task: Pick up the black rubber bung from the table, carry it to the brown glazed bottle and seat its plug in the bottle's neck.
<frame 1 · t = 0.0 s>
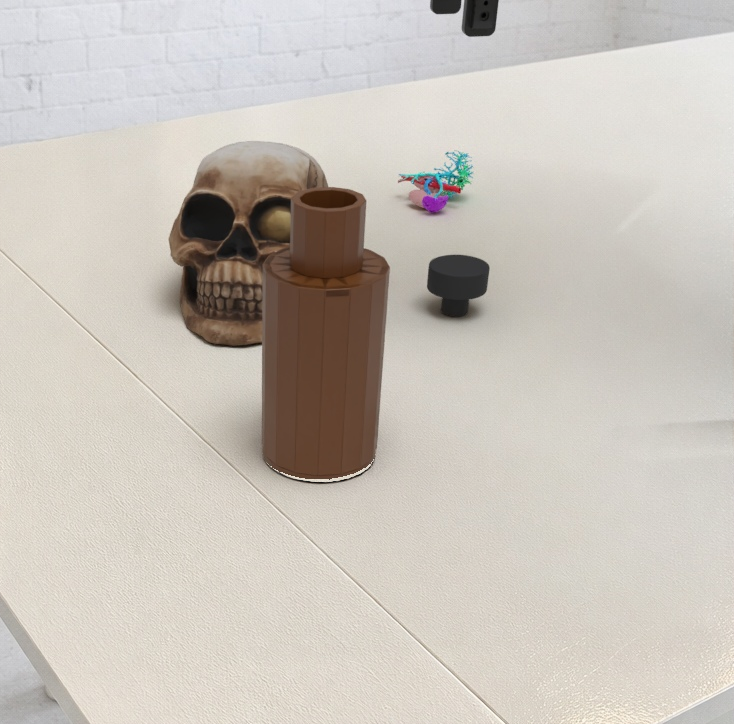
hand: (460, 23, 82), 22 cm above the table, tool pointing down, fingers open, 8 cm apart
bottle: (318, 453, 74), on the table
brown skull: (253, 300, 96), on the table
bung: (454, 311, 93), on the table
anatomy model: (429, 203, 115), on the table
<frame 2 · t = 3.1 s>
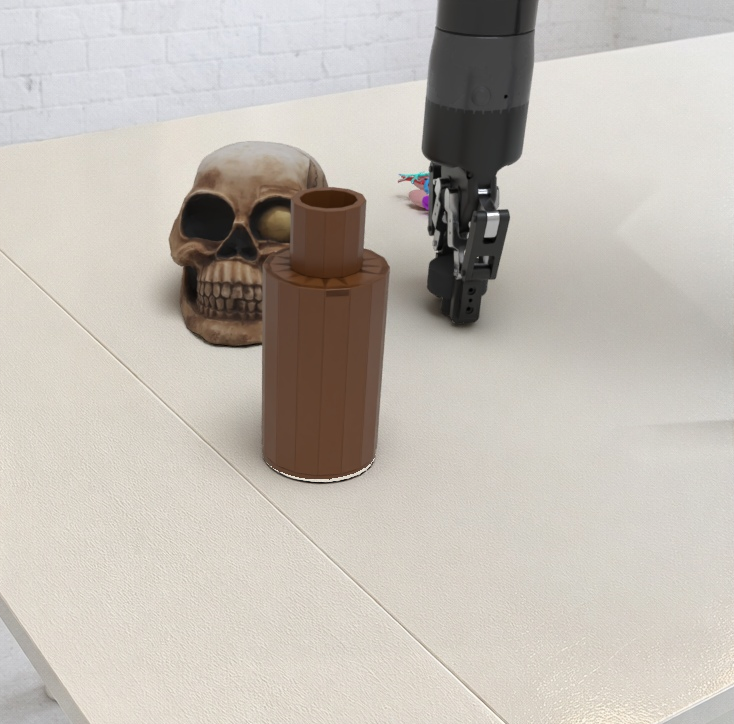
hand: (454, 307, 92), 0 cm above the table, tool pointing down, fingers closed on bung, 4 cm apart
bung: (454, 311, 93), on the table, touching gripper
everything else where it was.
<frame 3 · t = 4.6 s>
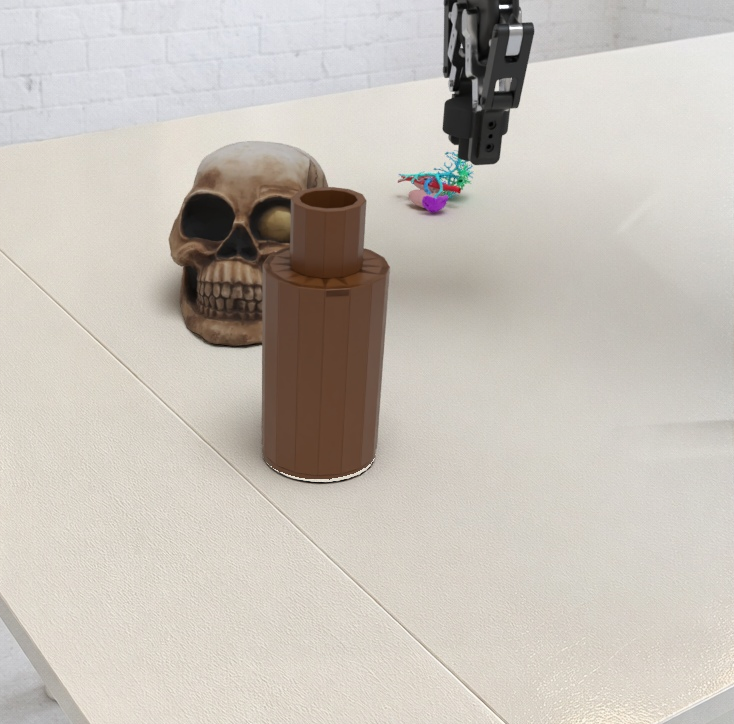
hand: (472, 151, 85), 13 cm above the table, tool pointing down, fingers closed on bung, 4 cm apart
bung: (472, 157, 86), point 13 cm above the table, touching gripper
everything else where it was.
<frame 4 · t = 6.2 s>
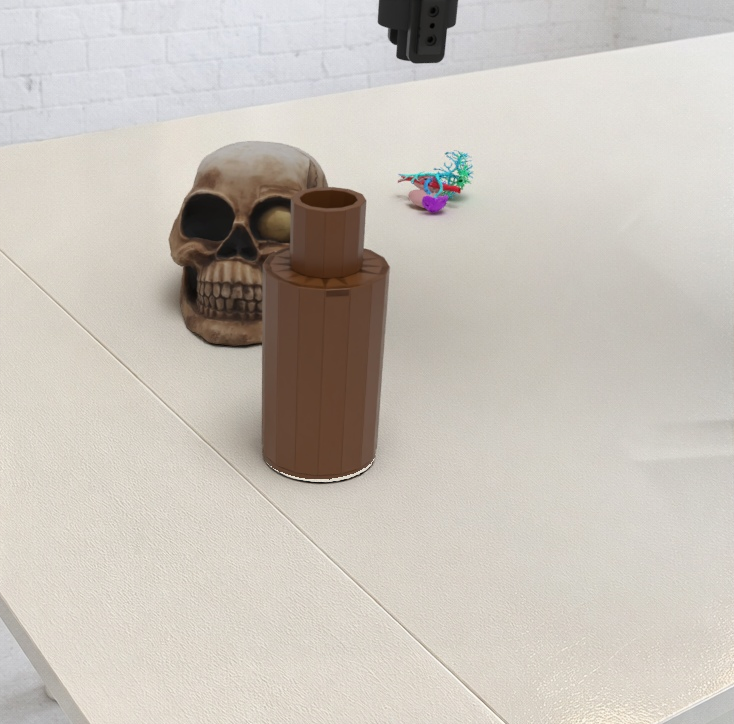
hand: (414, 51, 71), 23 cm above the table, tool pointing down, fingers closed on bung, 4 cm apart
bung: (413, 57, 71), point 22 cm above the table, touching gripper
everything else where it was.
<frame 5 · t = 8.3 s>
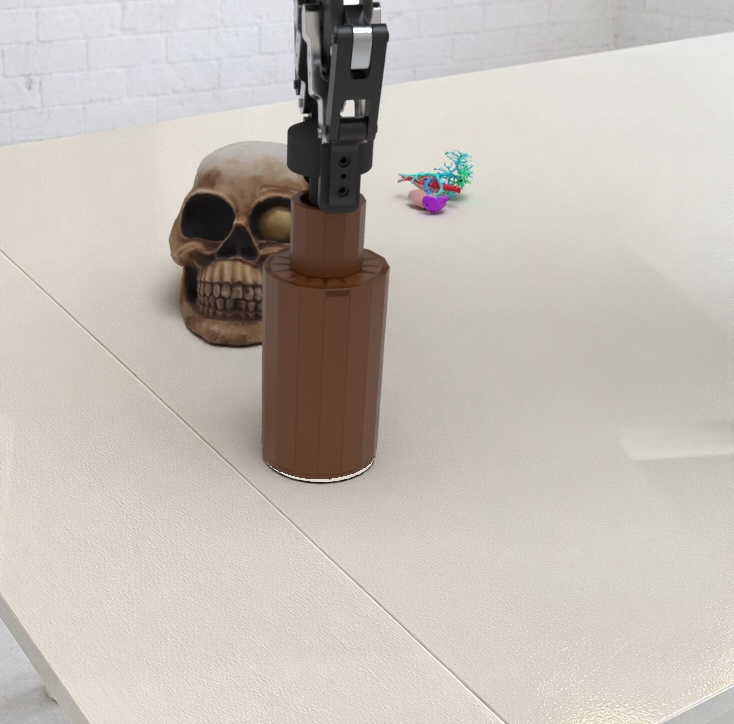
hand: (329, 194, 64), 17 cm above the table, tool pointing down, fingers closed on bung, 4 cm apart
bung: (328, 201, 65), point 17 cm above the table, touching gripper
everything else where it was.
when the fingers open (15 cm above the table, at t = 9.5 s): bung stays where it is, resting on bottle.
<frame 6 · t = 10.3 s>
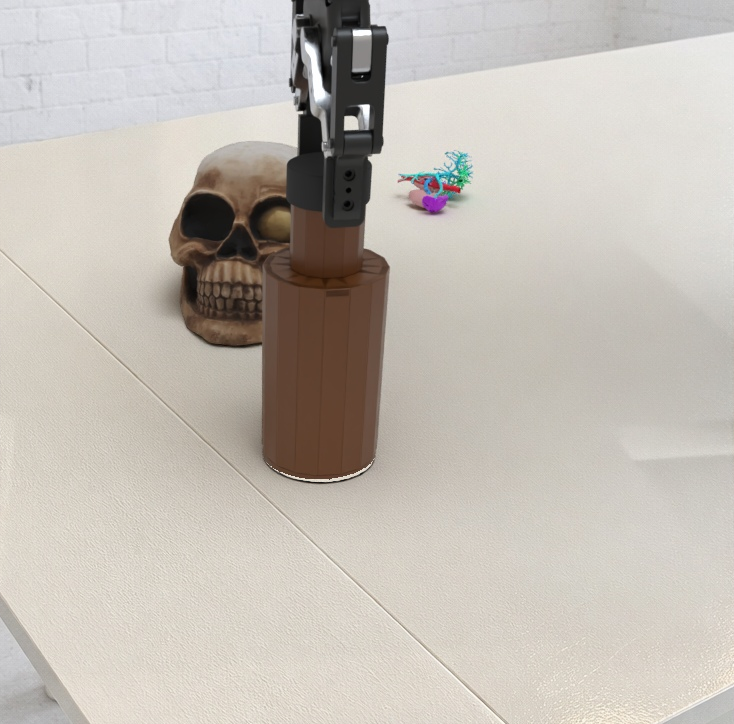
hand: (328, 200, 65), 17 cm above the table, tool pointing down, fingers open, 8 cm apart
bung: (326, 232, 66), point 15 cm above the table, touching bottle
everything else where it was.
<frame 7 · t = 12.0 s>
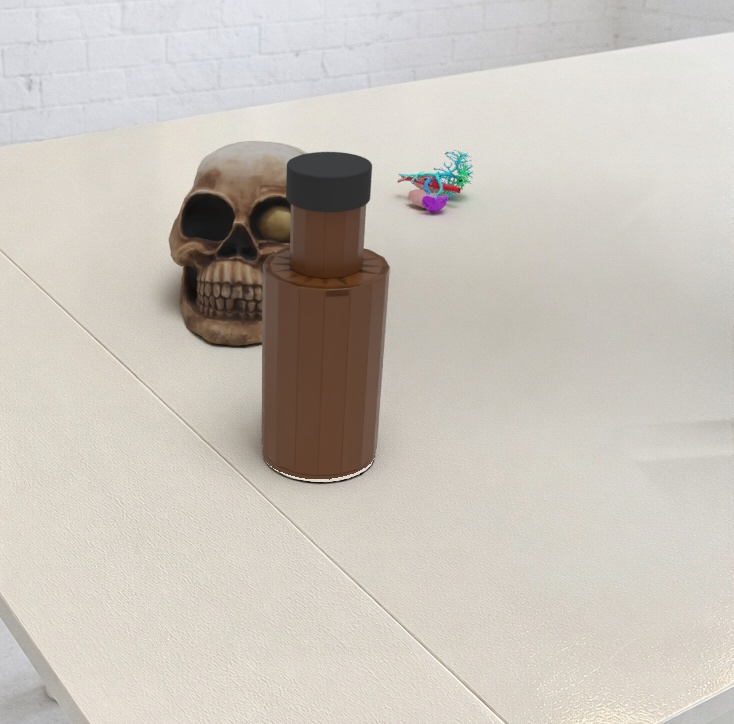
nothing on the table moved.
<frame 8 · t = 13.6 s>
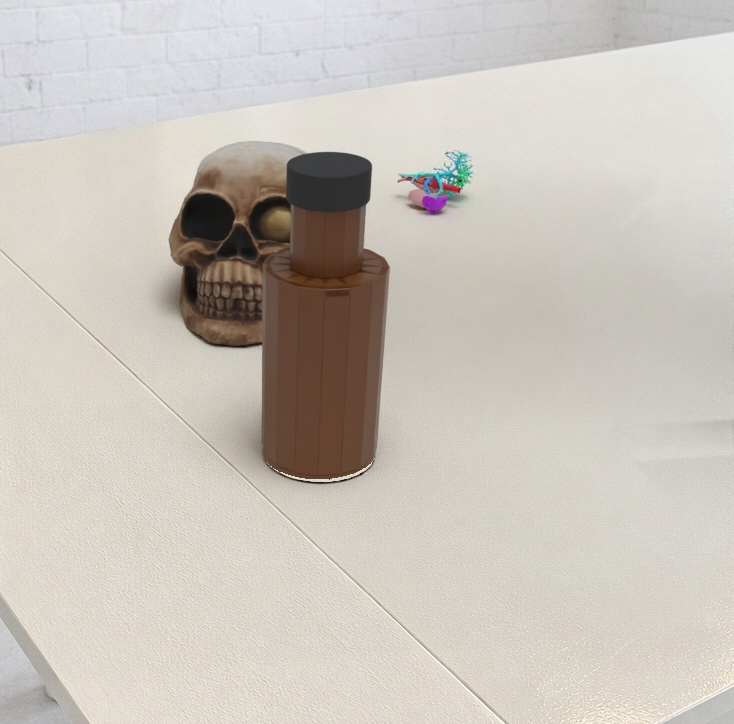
nothing on the table moved.
at the end: bung 0.0 cm off-centre in the bottle, point 15.0 cm above the bottle's base; bung tilted 0°; the gripper is holding nothing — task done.
